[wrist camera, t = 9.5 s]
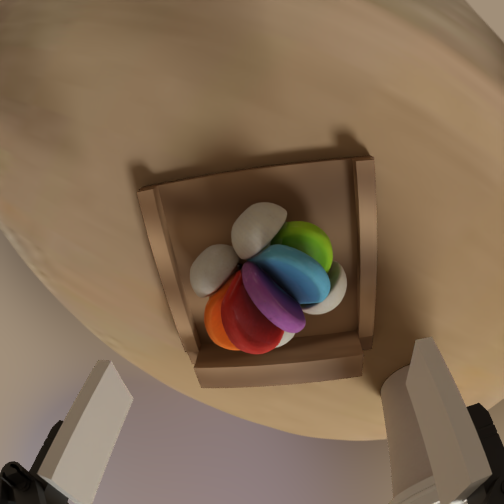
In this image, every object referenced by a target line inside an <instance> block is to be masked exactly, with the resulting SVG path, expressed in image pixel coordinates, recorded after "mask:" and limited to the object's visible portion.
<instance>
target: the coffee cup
mask: <svg viewBox="0 0 504 504" xmlns="http://www.w3.org/2000/svg"><path fill="white" fill-rule="evenodd" d="M409 367H410V365H407V366H405V367H403V368H401V369H399V370H397V371H396V372H394V373H393V374H392V375H391V376H390V377H389V378H388V379H387V380H386V381H385V382H384V384H383V386H382V388H381V399H382V405H383V412H384V418H385V425H386V432H387V440H388V448H389V455H390V456H389V457H390V466H391V477H392V490H393V499H392V500H391V501H390V502H389V504H440V501H439V496H438V492H437V488H436V484H435V480H434V476H433V472H432V468H431V465H430V461H429V457H428V454H427V450H426V447H425V443H424V440H423V436H422V433H421V430H420V427H419V423H418V420H417V417H416V414H415V411H414V408H413V405H412V402H411V399H410V396H409V393H408V390H407V387H406V380H407V376H408V372H409ZM461 504H468V503H467V499H466V500H465V501H464V502H463V503H461Z"/></svg>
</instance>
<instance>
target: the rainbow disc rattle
mask: <svg viewBox="0 0 504 504" xmlns="http://www.w3.org/2000/svg"><path fill="white" fill-rule="evenodd" d="M286 218H287V211H286V210H285V209H284V208H282V207H281V206H279V205H276V204H274V203H269V202H261V203H256V204H253V205H251V206H250V207H249V208H247V209H246V210H245V211H244V212H243V213H242V214H241V215H240V216H239V217H238V219H237V220H236V221H235V223H234V224H233V227H232V231H231V239H232V245H233V247H232V246H229V245H225V244H216V245H212V246H209V247H208V248H206V249H205V250H204V251H203V252H202V253H201V254H200V255H199V256H198V257H197V258H196V260H195V261H194V262H193V264H192V266H191V269H190V282H191V285H192V288H193V290H194V292H195V293H196V294H197V296H199V297H201V298H204V297H207V296H209V300H208V302H207V304H206V307H205V312H204V323H205V327H206V330H207V333H208V335H209V336H210V338H211V339H212V341H213V342H214V343H215V344H217V345H219V346H220V347H223V348H225V349H229V350H241V351H243V352H246V353H250V354H264V353H267V352H269V351H271V350H273V349H274V348H276V347H279V346H282V345H284V344H286V343H287V342H288V341H290V340H291V339H292V337H293V336H294V335H295V333H297V332H300V331H301V330H302V329H303V328H304V326H305V324H306V320H305V316H304V314H303V312H305V313H308V314H323V313H327V312H329V311H331V310H333V309H334V308H335V307H337V306H338V305H339V303H340V302H341V301H342V299H343V297H344V295H345V292H346V288H347V279H346V274H345V272H344V269H343V267H342V266H341V265H340V264H339V263H338V262H336V261H332V260H333V251H332V245H331V242H330V239H329V237H328V236H327V234H326V233H325V232H324V231H323V230H322V229H321V228H319V227H318V226H316V225H314V224H312V223H309V222H304V221H291V222H285V220H286ZM240 259H245V260H247V261H246V262H245V263H244V264H241V263H239V260H240Z"/></svg>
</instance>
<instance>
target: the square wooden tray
mask: <svg viewBox="0 0 504 504" xmlns="http://www.w3.org/2000/svg"><path fill="white" fill-rule="evenodd" d="M137 196H138V200H139V204H140V208H141V212H142V216H143V219H144V223H145V227H146V231H147V234H148V238H149V241H150V245H151V248H152V252H153V255H154V259H155V262H156V266H157V269H158V272H159V275H160V279H161V282H162V285H163V288H164V291H165V295H166V298H167V301H168V304H169V307H170V310H171V313H172V316H173V319H174V322H175V325H176V327H177V330H178V333H179V336H180V339H181V342H182V344H183V347H184V350H185V352H188V355H189V358H190V360H191V363H192V364H195V366H194V370H195V373H196V375H197V378H198V381H199V383H200V386H201V388H237V387H260V386H276V385H289V384H301V383H311V382H320V381H329V380H337V379H344V378H351V377H358V376H362V368H363V357H364V354H363V350H369V349H372V343H373V331H374V318H375V301H376V278H377V204H376V181H375V164H374V157H372V156H360V157H347V158H335V159H324V160H314V161H305V162H296V163H287V164H279V165H271V166H263V167H256V168H249V169H242V170H235V171H228V172H222V173H216V174H210V175H204V176H198V177H192V178H187V179H181V180H176V181H171V182H165V183H160V184H155V185H150V186H145V187H142V188H141V189H139V191H138V192H137ZM261 202H269V203H274V204H276V205H279V206H281V207H282V208H284V209H285V210H286V211H287V218H286V220H285V222H291V221H304V222H309V223H312V224H314V225H316V226H318V227H319V228H321V229H322V230H323V231H324V232H325V233H326V234H327V236H328V237H329V239H330V242H331V245H332V251H333V260H332V261H336V262H338V263H339V264H340V265H341V266H342V267H343V269H344V272H345V274H346V279H347V288H346V292H345V295H344V297H343V299H342V301H341V302H340V303H339V305H338V306H337V307H335V308H334V309H333V310H331V311H329V312H327V313H323V314H308V313H305V312H303V314H304V316H305V320H306V324H305V326H304V328H303V329H302V330H301V331H300V332H297V333H295V335H294V336H293V337H292V339H291V340H290V341H288V342H287V343H286V344H284V345H282V346H279V347H276V348H274V349H273V350H271V351H269V352H267V353H264V354H250V353H246V352H243V351H241V350H229V349H225V348H223V347H220V346H219V345H217V344H215V343H214V342H213V341H212V339H211V338H210V336H209V335H208V333H207V330H206V327H205V323H204V312H205V307H206V304H207V302H208V300H209V296H207V297H204V298H201V297H199V296H197V294H196V293H195V292H194V290H193V288H192V285H191V282H190V269H191V266H192V264H193V262H194V261H195V260H196V258H197V257H198V256H199V255H200V254H201V253H202V252H203V251H204V250H205V249H206V248H208V247H209V246H212V245H216V244H225V245H229V246H232V247H233V245H232V239H231V231H232V227H233V224H234V223H235V221H236V220H237V219H238V217H239V216H240V215H241V214H242V213H243V212H244V211H245V210H246V209H247V208H249V207H250V206H251V205H253V204H256V203H261ZM246 261H247V260H245V259H240V260H239V263H241V264H244V263H245V262H246Z"/></svg>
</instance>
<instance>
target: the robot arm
mask: <svg viewBox="0 0 504 504" xmlns="http://www.w3.org/2000/svg"><path fill="white" fill-rule="evenodd" d="M406 387H407V390H408V393H409V396H410V399H411V402H412V405H413V408H414V411H415V414H416V417H417V420H418V423H419V427H420V430H421V433H422V436H423V440H424V443H425V447H426V450H427V454H428V457H429V461H430V465H431V468H432V472H433V476H434V480H435V484H436V488H437V492H438V496H439V501H440V504H461V503H463V502H464V501H465V500H466V499H467V503H468V504H504V447H503V444H502V442H501V439H500V437H499V435H498V434H497V430H496V428H495V425H493V421H492V419H491V417H490V414H489V412H488V411H487V410H486V409H485V408H484V407H483V406H482V405H481V404H480V403H477V404H474V405H471V406H468V407H466V405H465V403H464V401H463V399H462V396H461V394H460V392H459V390H458V388H457V386H456V383H455V381H454V379H453V377H452V375H451V373H450V371H449V369H448V367H447V365H446V363H445V361H444V359H443V357H442V355H441V353H440V351H439V349H438V347H437V345H436V343H435V342H434V340H433V338H432V337H428V338H423V339H418V340H415V345H414V350H413V354H412V359H411V363H410V367H409V372H408V376H407V380H406ZM132 401H133V397H132V396H131V394H130V392H129V391H128V389H127V387H126V386H125V384H124V382H123V381H122V379H121V377H120V375H119V374H118V372H117V370H116V368H115V367H114V365H113V363H112V361H109V360H98V361H97V363H96V365H95V366H94V368H93V370H92V372H91V373H90V375H89V377H88V378H87V380H86V382H85V384H84V386H83V387H82V389H81V391H80V392H79V394H78V396H77V398H76V400H75V401H74V403H73V405H72V407H71V409H70V410H69V412H68V414H67V416H66V418H65V420H64V421H61V420H59V422H57V423H56V424H55V425H54V426H53V427H52V429H51V431H50V433H49V434H48V438H47V439H46V440H45V442H44V446H42V448H41V450H40V451H39V454H38V455H37V457H36V460H35V462H34V464H33V465H32V467H31V469H30V471H29V472H28V471H27V470H26V469H24V468H23V467H22V466H21V465H20V464H19V463H18V462H15V461H14V462H9V463H7V464H5V466H4V467H3V468H2V470H1V474H0V504H69V503H67V501H68V499H70V500H71V501H73V502H74V503H76V504H92V503H93V500H94V497H95V494H96V492H97V489H98V487H99V484H100V481H101V478H102V476H103V473H104V471H105V468H106V466H107V463H108V460H109V458H110V455H111V453H112V450H113V447H114V445H115V442H116V440H117V437H118V435H119V433H120V430H121V428H122V425H123V423H124V420H125V418H126V416H127V413H128V411H129V408H130V406H131V404H132Z"/></svg>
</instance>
